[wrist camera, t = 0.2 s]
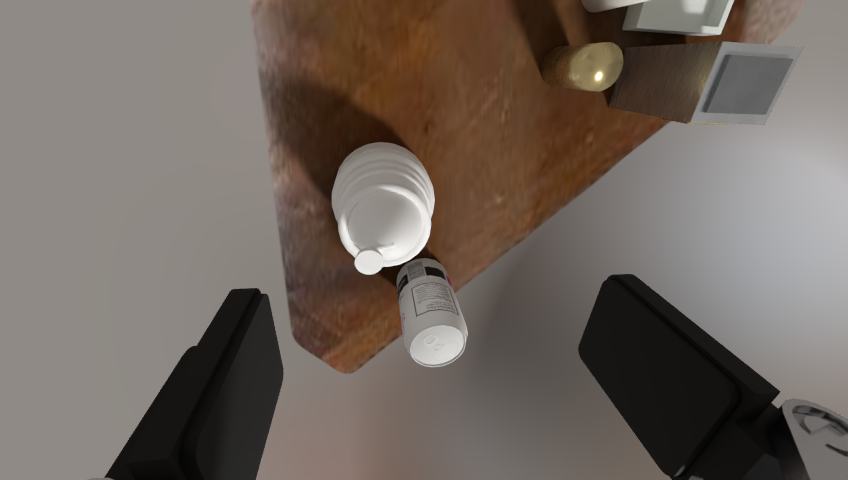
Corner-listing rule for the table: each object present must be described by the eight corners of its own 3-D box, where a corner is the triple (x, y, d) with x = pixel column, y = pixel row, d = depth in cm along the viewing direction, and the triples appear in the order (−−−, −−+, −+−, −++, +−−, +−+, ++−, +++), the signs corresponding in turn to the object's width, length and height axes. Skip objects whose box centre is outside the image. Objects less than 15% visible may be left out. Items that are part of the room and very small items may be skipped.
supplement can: (456, 276, 54) (483, 343, 41) (419, 305, 56) (434, 379, 43) (423, 246, 50) (442, 310, 37) (385, 278, 52) (390, 350, 39)
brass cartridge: (545, 45, 40) (588, 40, 32) (578, 47, 40) (629, 43, 32) (537, 85, 42) (576, 90, 34) (569, 86, 42) (615, 92, 34)
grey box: (625, 47, 41) (727, 41, 29) (688, 51, 42) (808, 47, 31) (607, 110, 44) (691, 127, 33) (665, 112, 46) (766, 129, 34)
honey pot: (355, 241, 48) (348, 327, 33) (319, 158, 42) (289, 215, 26) (438, 216, 48) (471, 289, 33) (414, 129, 42) (441, 168, 26)
